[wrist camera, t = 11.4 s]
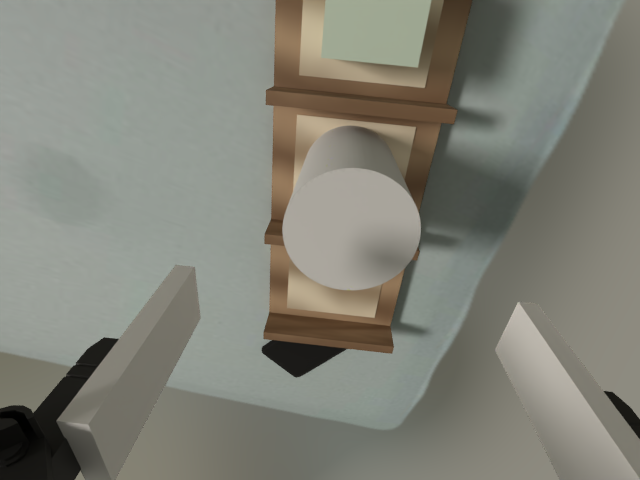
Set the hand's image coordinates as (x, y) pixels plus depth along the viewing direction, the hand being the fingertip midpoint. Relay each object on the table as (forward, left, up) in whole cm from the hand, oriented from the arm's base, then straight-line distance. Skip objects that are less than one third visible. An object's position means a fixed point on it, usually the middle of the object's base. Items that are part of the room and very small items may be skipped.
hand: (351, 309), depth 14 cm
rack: (0, 0, -20) cm, 20 cm away
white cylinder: (0, 0, -19) cm, 19 cm away
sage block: (-12, 0, -19) cm, 22 cm away
